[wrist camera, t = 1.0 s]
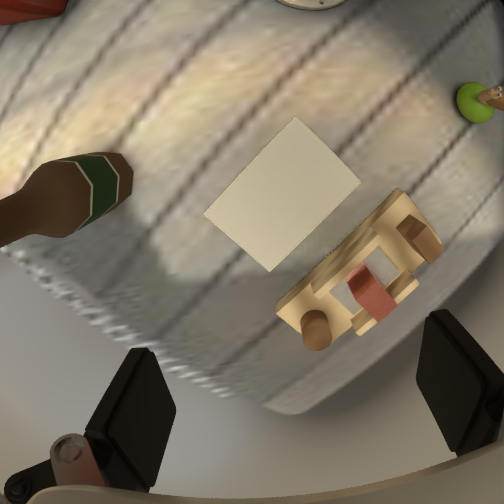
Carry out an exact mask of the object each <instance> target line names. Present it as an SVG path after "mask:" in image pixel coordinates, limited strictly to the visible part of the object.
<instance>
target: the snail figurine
mask: <svg viewBox="0 0 504 504" xmlns="http://www.w3.org/2000/svg"><path fill="white" fill-rule="evenodd" d="M497 89H498V90H497ZM497 89H495V88H490V89H487V88H486V87H485V86H483V85H482V84H480V83H477V82H468V83H466V84H464V85H462V86H461V87H460V89H459V91H458V93H457V105H458V108H459V110H460V112H461V113H462V114H463V116H464V117H465V118H467V119H468V120H470V121H472V122H475V123H483V122H486V121H488V120H489V119H490V118H491V117H492V115H493V113H494V109H495V108H496V109H499V110H502V111H504V94H503V93H500V92H499V91H502V88H501V87H500V86H498V88H497Z"/></svg>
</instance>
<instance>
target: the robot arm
mask: <svg viewBox="0 0 504 504" xmlns="http://www.w3.org/2000/svg"><path fill="white" fill-rule="evenodd" d="M277 1H279V2H280V3H282V4H285V5H288V6H290V7H294V8H298V9H305V10H322V9H327V8H331V7H334V6H337V5H339V4H341V3H342V2H344V1H345V0H277ZM320 3H323V4H320ZM416 381H417V385H418V387H419V389H420V391H421V392H422V395H423V396H424V398H425V400H426V402H427V404H428V406H429V408H430V410H431V412H432V414H433V416H434V418H435V420H436V422H437V424H438V426H439V428H440V430H441V432H442V434H443V436H444V438H445V441H446V442H447V445H448V447H449V449H450V451H451V452H454V451H455V453H456V455H457V458H454V459H452V460H449V461H446V462H443V463H440V464H437V465H435V466H432V467H429V468H426V469H423V470H419V471H417V472H413V473H410V474H406V475H403V476H399V477H395V478H392V479H388V480H384V481H380V482H375V483H371V484H367V485H362V486H357V487H352V488H346V489H341V490H335V491H328V492H322V493H315V494H306V495H297V496H286V497H272V498H250V499H249V498H247V499H219V498H215V499H214V498H195V497H181V496H170V495H161V494H152V493H149V490H150V487H153V486H154V485H155V483H156V479H157V476H158V472H159V469H160V466H161V462H162V459H163V455H164V452H165V449H166V445H167V442H168V438H169V435H170V432H171V428H172V425H173V422H174V419H175V415H176V406H175V403H174V401H173V399H172V396H171V394H170V391H169V389H168V387H167V384H166V382H165V380H164V377H163V374H162V372H161V369H160V367H159V364H158V361H157V359H156V356H155V354H154V352H150V350H149V349H148V348H131V349H130V351H129V352H128V354H127V356H126V358H125V359H124V361H123V363H122V364H121V366H120V368H119V370H118V371H117V373H116V375H115V376H114V378H113V380H112V381H111V383H110V386H109V387H108V388H107V390H106V392H105V394H104V396H103V397H102V399H101V401H100V403H99V404H98V406H97V408H96V410H95V412H94V413H93V415H92V417H91V419H90V421H89V423H88V424H87V426H86V428H85V431H86V432H85V433H84V435H83V436H82V435H80V434H76V433H75V434H67V435H64V436H62V437H60V438H59V439H57V440H56V441H55V442H54V443H53V445H52V446H51V449H50V459H49V460H46V461H44V462H42V463H40V464H37V465H35V466H32V467H30V468H28V469H25V470H23V471H20V472H18V473H16V474H14V475H12V476H11V477H10V478H9V479H8V480H7V482H6V483H5V487H4V494H2V493H1V492H0V504H504V374H503V373H502V371H501V370H500V369H499V368H498V366H497V365H496V364H495V363H494V361H493V360H492V359H491V358H490V357H489V356H488V354H487V353H486V352H485V351H484V350H483V349H482V347H481V346H480V345H479V344H478V343H477V342H476V340H475V339H474V338H473V337H472V336H471V335H470V334H469V333H468V332H467V330H466V329H465V328H464V327H463V326H462V325H461V324H460V323H459V322H458V321H457V319H456V318H455V317H454V316H453V315H452V314H451V313H450V312H449V311H448V310H447V309H441V310H437V311H432V312H431V313H430V314H429V317H426V319H425V325H424V332H423V339H422V345H421V352H420V357H419V363H418V368H417V374H416Z"/></svg>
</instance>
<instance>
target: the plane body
mask: <svg viewBox="0 0 504 504" xmlns="http://www.w3.org/2000/svg"><path fill="white" fill-rule="evenodd" d="M441 243H442V242H441V240H440V239H439V237H438V236H437V234H436V233H435V232H434V230H433V229H432V227H431V226H430V225H429V223H428V222H427V221H426V219H425V218H424V216H423V215H422V214H421V212H420V211H419V210H418V208H417V207H416V206H415V205H414V203H413V202H412V201H411V199H410V198H409V197H408V196H407V194H406V193H405V192H404V191H402V190H399V189H397V188H396V189H395V191H394V192H393V193H392V194H391V195H390V196H389V197H388V198H387V199H386V200H385V201H384V202H383V203H382V204H381V205H380V206H379V207H378V208H377V209H376V210H375V211H374V212H373V213H372V214H371V215H370V216H369V217H368V218H367V219H366V220H365V221H364V222H363V223H362V224H361V225H360V226H358V227H357V228H356V229H355V230H354V231H353V232H352V233H351V234H350V235H349V236H348V237H347V238H346V239H345V240H344V241H343V242H342V243H341V244H340V245H339V246H338V247H337V248H336V249H335V250H334V251H333V252H331V253H330V254H329V255H328V256H327V257H326V258H325V259H324V260H323V261H322V262H321V263H320V264H319V265H318V266H317V267H316V268H314V269H313V270H312V271H311V272H310V273H309V274H308V275H307V276H306V277H305V278H304V279H303V280H301V281H300V282H299V283H298V284H297V285H296V286H295V287H294V288H293V289H292V290H291V291H289V292H288V293H287V294H286V295H285V296H284V297H283V298H282V299H281V300H279V301H278V302H277V303H276V314H277V315H278V316H280V317H281V318H282V319H283V320H285V321H286V322H287V323H288V324H289V325H291V326H292V327H293V328H294V329H296V330H297V331H298V332H299V333H301V334H302V338H303V343H304V346H305V347H306V348H307V349H309V350H312V351H320V350H323V349H325V348H327V347H328V346H329V345H330V344H331V343H332V342H333V341H334V340H335V339H337V338H338V337H339V336H340V335H342V334H343V333H344V332H345V331H346V330H348V329H349V328H350V327H351V326H353V327H354V330H355V332H356V333H357V334H358V335H359V336H361V335H362V334H364V333H365V332H366V331H367V330H368V329H370V328H371V327H372V326H373V325H374V324H376V323H377V321H376V320H375V319H374V318H373V317H372V316H371V315H370V314H369V313H368V312H367V311H366V310H365V309H364V308H361V309H360V310H359V311H358V312H357V313H356V314H354V315H353V314H352V313H351V312H349V311H348V310H347V309H346V308H345V307H344V306H343V305H342V304H341V303H340V302H339V301H338V300H337V299H336V298H334V297H333V296H332V295H331V294H330V293H329V291H330V290H331V289H332V288H333V287H334V286H335V285H337V284H338V283H339V282H340V281H341V280H342V279H343V278H344V277H345V276H346V275H347V274H349V273H350V272H351V271H352V270H353V269H354V268H355V267H356V266H357V265H358V264H359V263H360V262H361V261H363V260H364V259H365V258H366V257H367V256H368V255H369V254H370V253H371V252H372V251H373V250H374V249H375V248H376V247H378V248H379V249H380V250H381V251H382V253H383V254H384V255H385V256H386V257H387V258H388V259H389V261H390V262H391V263H392V264H393V265H394V266H395V268H396V269H397V270H398V271H399V272H400V274H399V275H398V276H397V277H396V278H395V279H394V280H393V281H391V282H390V283H389V284H388V285H387V286H386V288H387V290H388V291H389V292H390V294H391V295H392V297H393V298H394V300H395V301H396V303H397V304H398V303H399V302H401V301H402V300H403V299H404V298H405V297H406V296H407V295H408V294H409V293H410V292H411V291H413V290H414V289H415V288H416V287H417V286H418V285H419V282H418V281H417V280H416V279H415V278H414V276H413V275H412V274H411V273H412V272H413V271H414V270H415V269H416V268H417V267H418V266H419V265H420V264H421V263H422V262H423V261H424V260H426V261H427V262H428V263H429V264H431V263H432V262H433V261H434V260H435V259H436V258H437V257H438V256H439V255H440V254H441V253H442V252H443V251H444V249H443V247H442V246H441Z"/></svg>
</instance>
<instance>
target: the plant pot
mask: <svg viewBox="0 0 504 504" xmlns="http://www.w3.org/2000/svg"><path fill="white" fill-rule="evenodd" d="M67 1H68V0H0V25H7V24H13V23H17V22H23V21H28V20H34V19H40V18H47V17H54V16H59V15H60V14H61V13H62V12H63V11H64V9H65V6H66V4H67Z"/></svg>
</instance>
